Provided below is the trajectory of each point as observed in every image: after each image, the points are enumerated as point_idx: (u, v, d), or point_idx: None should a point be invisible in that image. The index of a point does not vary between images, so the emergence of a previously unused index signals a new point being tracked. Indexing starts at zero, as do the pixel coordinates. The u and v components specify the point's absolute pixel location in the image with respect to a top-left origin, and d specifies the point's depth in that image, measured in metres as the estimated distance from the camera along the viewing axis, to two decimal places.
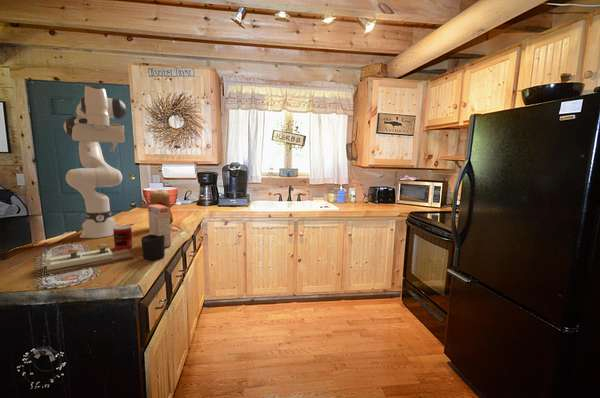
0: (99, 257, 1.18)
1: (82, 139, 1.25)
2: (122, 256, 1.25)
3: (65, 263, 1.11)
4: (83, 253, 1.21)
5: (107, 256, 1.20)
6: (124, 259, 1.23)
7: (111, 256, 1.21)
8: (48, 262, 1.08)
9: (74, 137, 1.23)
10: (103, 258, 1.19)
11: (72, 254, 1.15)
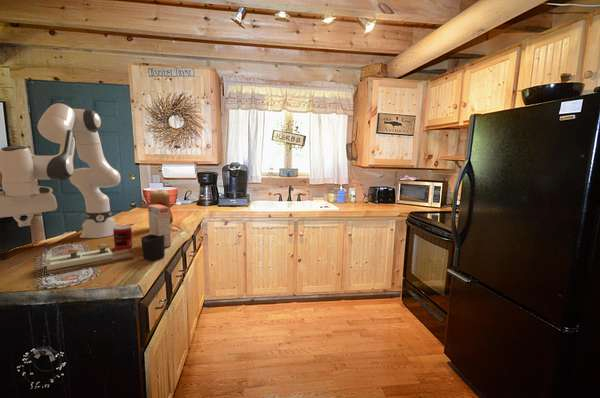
0: (99, 257, 1.18)
1: None
2: (122, 256, 1.25)
3: (65, 263, 1.11)
4: (83, 253, 1.21)
5: (107, 256, 1.20)
6: (124, 259, 1.23)
7: (111, 256, 1.21)
8: (48, 262, 1.08)
9: None
10: (103, 258, 1.19)
11: (72, 254, 1.15)
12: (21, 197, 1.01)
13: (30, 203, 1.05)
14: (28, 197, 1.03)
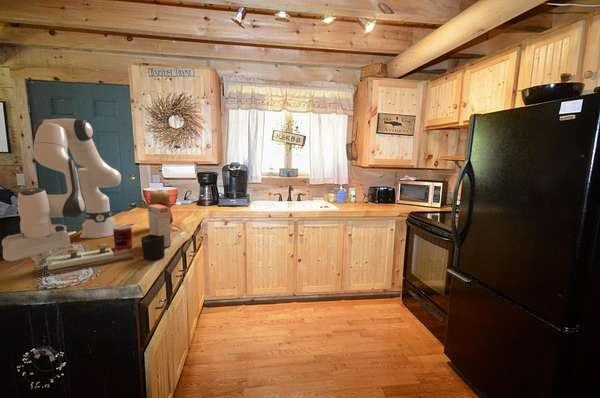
0: (100, 257, 1.18)
1: None
2: (122, 256, 1.25)
3: (66, 263, 1.11)
4: (84, 253, 1.21)
5: (108, 256, 1.20)
6: (124, 259, 1.23)
7: (112, 256, 1.21)
8: (49, 262, 1.08)
9: None
10: (104, 258, 1.19)
11: (72, 254, 1.15)
12: (39, 237, 1.06)
13: (47, 241, 1.10)
14: (45, 237, 1.08)
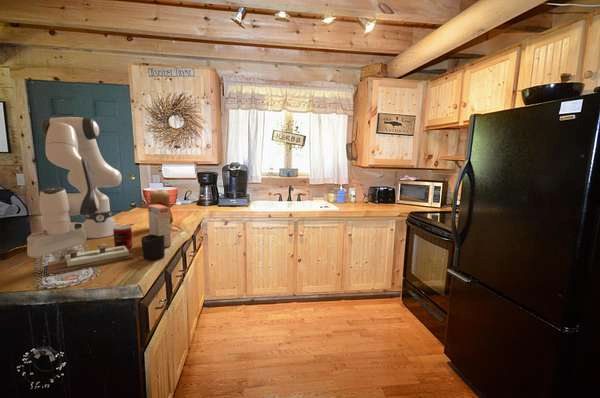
0: (116, 254, 1.22)
1: None
2: (122, 256, 1.25)
3: (84, 260, 1.15)
4: None
5: (123, 253, 1.24)
6: (124, 259, 1.23)
7: (127, 253, 1.25)
8: (68, 259, 1.12)
9: None
10: (119, 255, 1.23)
11: (72, 254, 1.15)
12: (61, 235, 1.11)
13: (66, 238, 1.14)
14: (66, 234, 1.12)
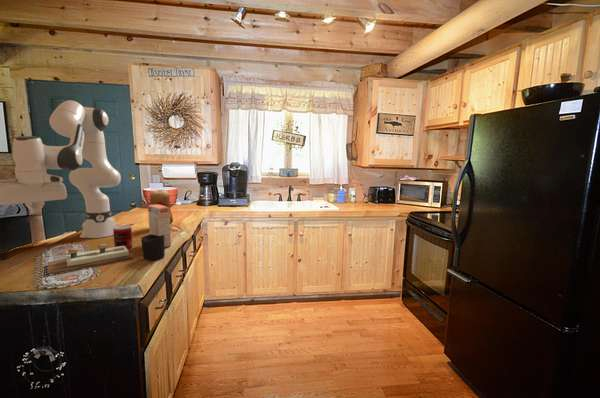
0: (116, 254, 1.22)
1: None
2: (122, 256, 1.25)
3: (84, 260, 1.15)
4: None
5: (123, 253, 1.24)
6: (124, 259, 1.23)
7: (127, 253, 1.25)
8: (68, 259, 1.12)
9: None
10: (119, 255, 1.23)
11: (72, 254, 1.15)
12: (33, 185, 1.05)
13: (42, 191, 1.09)
14: (40, 185, 1.07)
